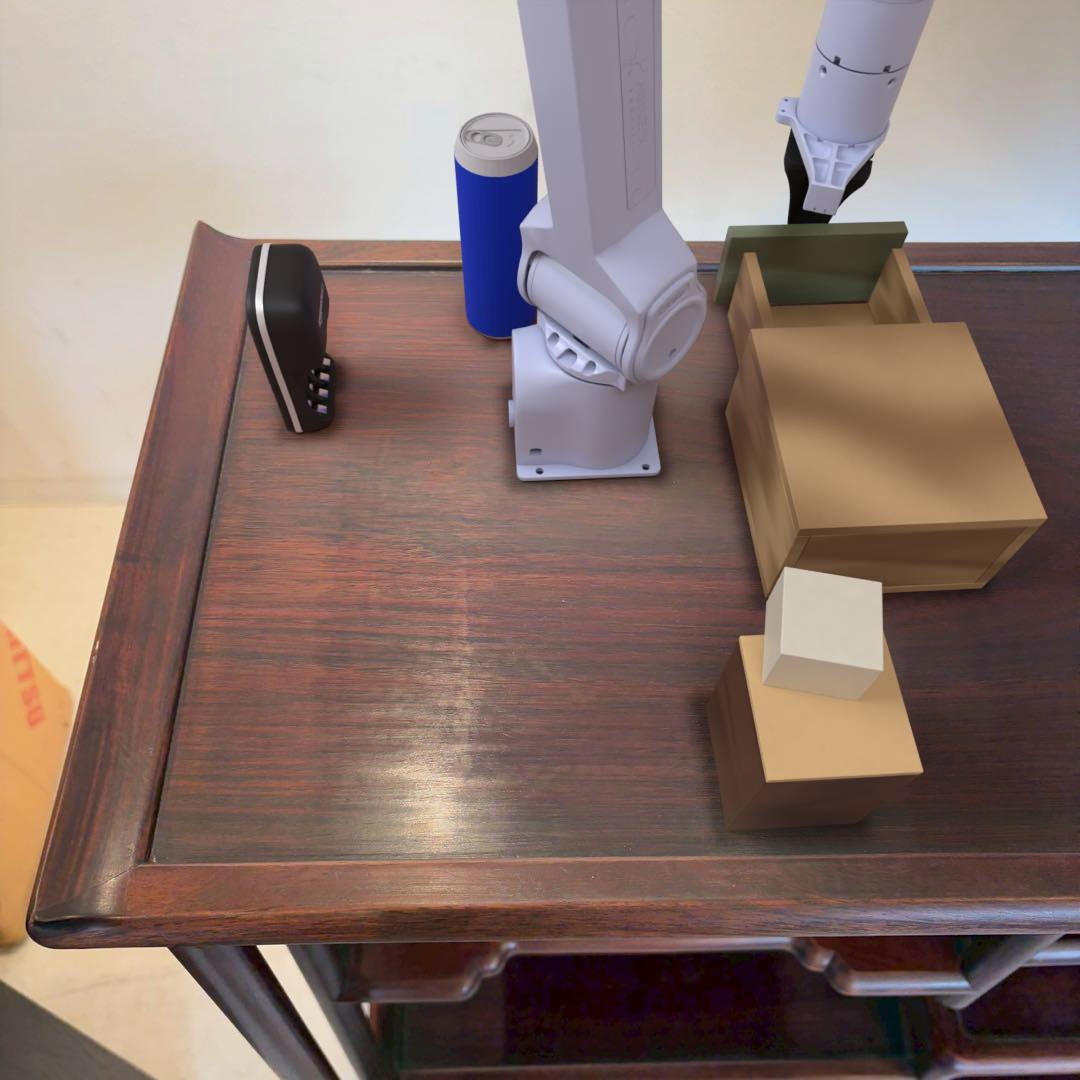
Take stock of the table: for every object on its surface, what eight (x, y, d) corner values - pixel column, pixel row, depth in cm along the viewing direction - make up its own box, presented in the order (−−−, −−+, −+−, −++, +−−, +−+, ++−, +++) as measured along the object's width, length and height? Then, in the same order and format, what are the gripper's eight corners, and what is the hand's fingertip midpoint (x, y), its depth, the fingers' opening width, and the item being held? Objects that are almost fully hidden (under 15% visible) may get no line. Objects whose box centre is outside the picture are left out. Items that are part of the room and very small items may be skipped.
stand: (726, 831, 47) (765, 783, 39) (705, 705, 51) (738, 639, 43) (855, 823, 47) (920, 774, 40) (826, 699, 51) (880, 632, 43)
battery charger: (343, 435, 60) (308, 310, 50) (287, 437, 60) (240, 313, 50) (348, 358, 64) (316, 227, 54) (294, 360, 64) (252, 230, 54)
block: (761, 684, 41) (780, 653, 38) (766, 602, 44) (784, 565, 40) (857, 701, 41) (884, 671, 38) (856, 617, 43) (882, 582, 40)
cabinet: (724, 412, 62) (750, 328, 55) (916, 405, 62) (965, 321, 55) (764, 598, 54) (800, 528, 47) (982, 588, 55) (1048, 518, 48)
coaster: (765, 783, 39) (768, 780, 39) (738, 639, 43) (739, 635, 43) (920, 774, 40) (924, 771, 39) (880, 632, 43) (883, 628, 43)
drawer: (708, 283, 67) (725, 213, 62) (869, 278, 68) (900, 209, 62) (743, 437, 59) (765, 374, 54) (924, 430, 60) (964, 367, 55)
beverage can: (539, 296, 67) (542, 112, 54) (532, 346, 65) (534, 165, 52) (471, 290, 67) (459, 106, 55) (461, 340, 65) (446, 159, 52)
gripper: (812, -26, 57) (762, 162, 68) (779, 104, 49) (730, 289, 61) (924, -7, 56) (855, 180, 67) (907, 128, 48) (833, 311, 60)
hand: (802, 233), depth 64 cm, fingers closed
